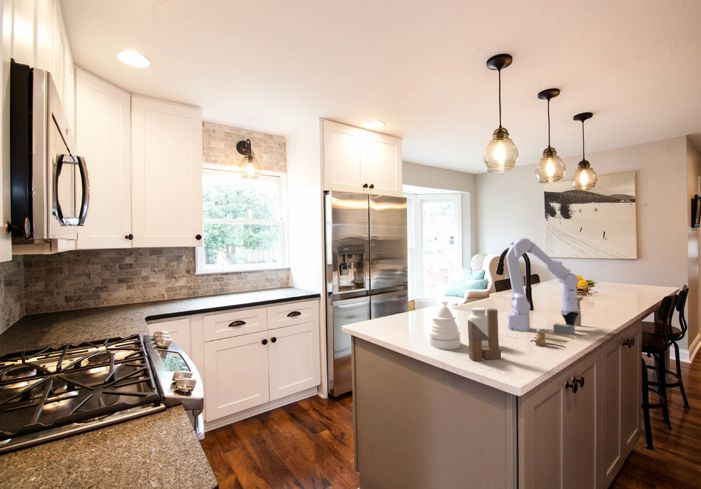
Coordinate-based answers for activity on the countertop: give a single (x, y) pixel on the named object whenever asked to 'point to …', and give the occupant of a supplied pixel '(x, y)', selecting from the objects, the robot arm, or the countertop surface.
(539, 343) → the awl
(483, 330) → the pill bottle
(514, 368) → the countertop surface
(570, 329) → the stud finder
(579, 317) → the handle
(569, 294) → the robot arm
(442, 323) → the honey pot
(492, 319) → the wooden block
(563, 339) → the panel
